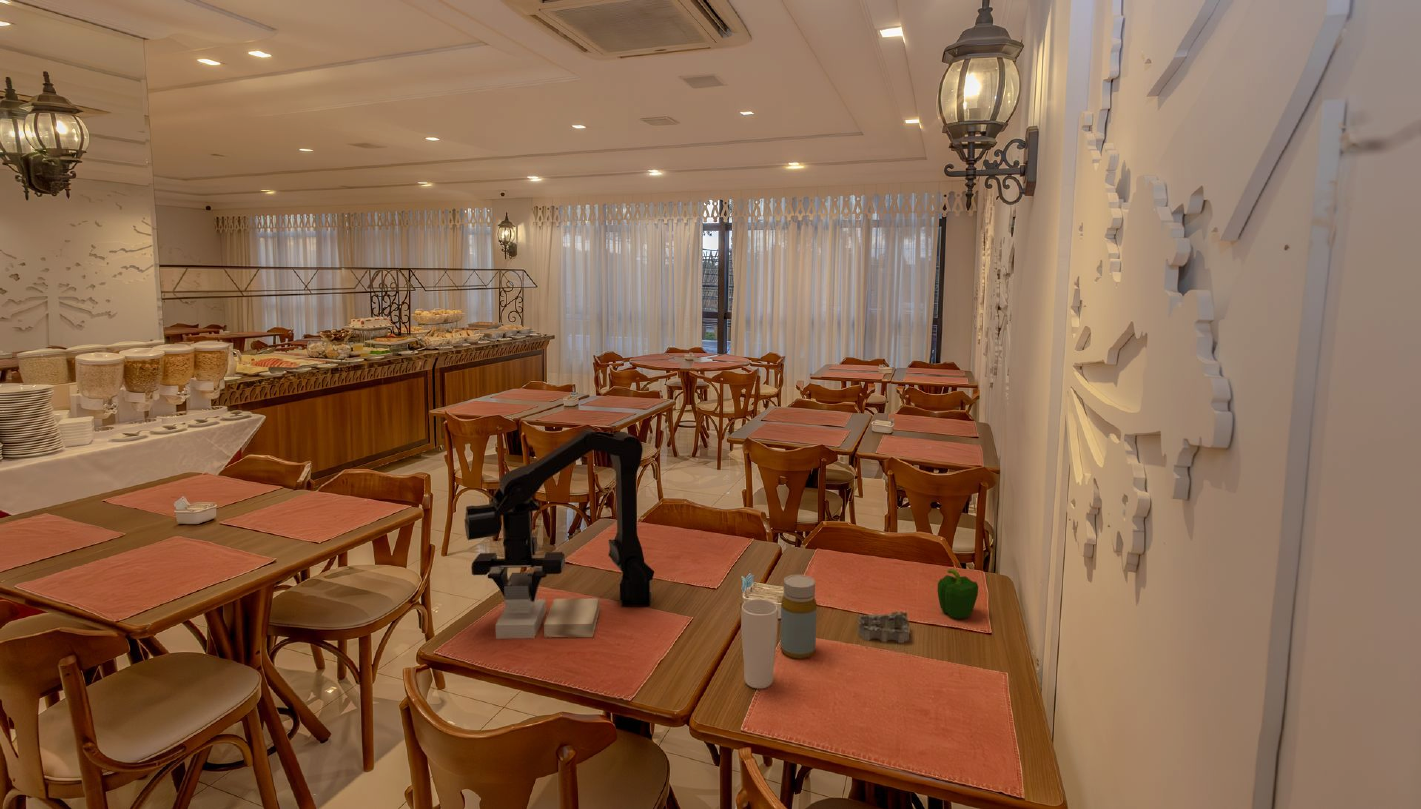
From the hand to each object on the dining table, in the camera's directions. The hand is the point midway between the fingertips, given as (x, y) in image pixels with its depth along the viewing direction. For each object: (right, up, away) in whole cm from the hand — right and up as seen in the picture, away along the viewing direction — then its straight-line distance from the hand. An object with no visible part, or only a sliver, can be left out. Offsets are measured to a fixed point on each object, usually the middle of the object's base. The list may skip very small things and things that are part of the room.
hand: (521, 600), depth 155 cm
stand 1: (0, -5, +1) cm, 6 cm away
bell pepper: (+96, -5, +6) cm, 96 cm away
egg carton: (+77, -7, -3) cm, 78 cm away
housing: (0, -1, 0) cm, 1 cm away
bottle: (+58, -8, -10) cm, 60 cm away
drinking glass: (+50, -10, -21) cm, 55 cm away
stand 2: (+11, -5, +1) cm, 12 cm away
